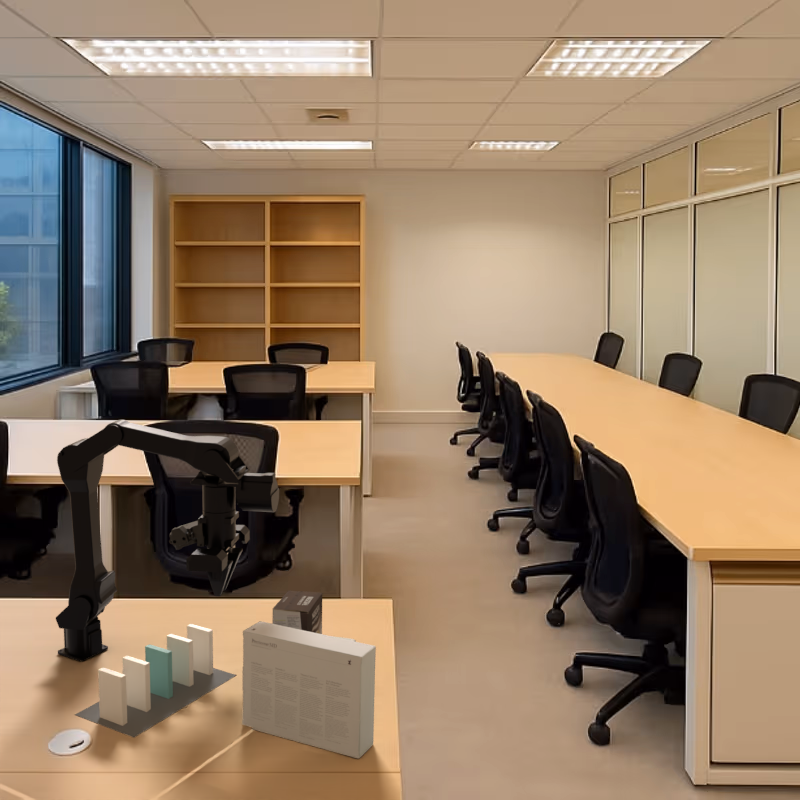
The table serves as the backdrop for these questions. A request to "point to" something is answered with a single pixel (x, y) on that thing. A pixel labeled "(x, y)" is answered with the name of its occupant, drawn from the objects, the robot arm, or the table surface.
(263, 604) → the table surface
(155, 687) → the teal tile
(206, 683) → the mat
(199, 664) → the domino
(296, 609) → the coffee box
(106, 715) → the domino
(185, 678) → the domino
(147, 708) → the domino
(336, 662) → the skincare box
